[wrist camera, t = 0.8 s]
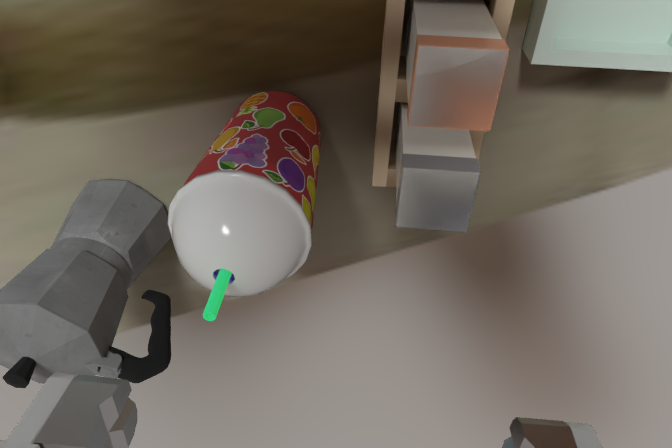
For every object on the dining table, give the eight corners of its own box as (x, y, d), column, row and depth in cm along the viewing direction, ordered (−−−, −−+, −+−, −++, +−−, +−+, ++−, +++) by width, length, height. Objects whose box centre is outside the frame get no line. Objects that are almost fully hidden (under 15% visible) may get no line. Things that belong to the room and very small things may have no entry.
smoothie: (237, 169, 43) (149, 366, 28) (218, 73, 38) (98, 249, 23) (335, 169, 43) (302, 373, 27) (329, 72, 38) (284, 253, 22)
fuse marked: (411, -17, 32) (417, 44, 23) (477, -13, 32) (509, 49, 23) (404, 49, 35) (407, 126, 26) (465, 52, 34) (490, 131, 26)
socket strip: (401, -192, 28) (403, -193, 24) (532, -187, 28) (558, -189, 23) (374, 147, 41) (372, 185, 37) (462, 153, 41) (471, 192, 36)
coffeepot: (53, 232, 50) (-81, 395, 36) (52, 153, 44) (-108, 310, 30) (208, 279, 52) (140, 450, 38) (227, 209, 46) (154, 380, 32)
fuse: (400, 83, 36) (402, 166, 27) (459, 87, 36) (480, 172, 27) (394, 135, 39) (395, 226, 30) (450, 139, 38) (466, 232, 30)
